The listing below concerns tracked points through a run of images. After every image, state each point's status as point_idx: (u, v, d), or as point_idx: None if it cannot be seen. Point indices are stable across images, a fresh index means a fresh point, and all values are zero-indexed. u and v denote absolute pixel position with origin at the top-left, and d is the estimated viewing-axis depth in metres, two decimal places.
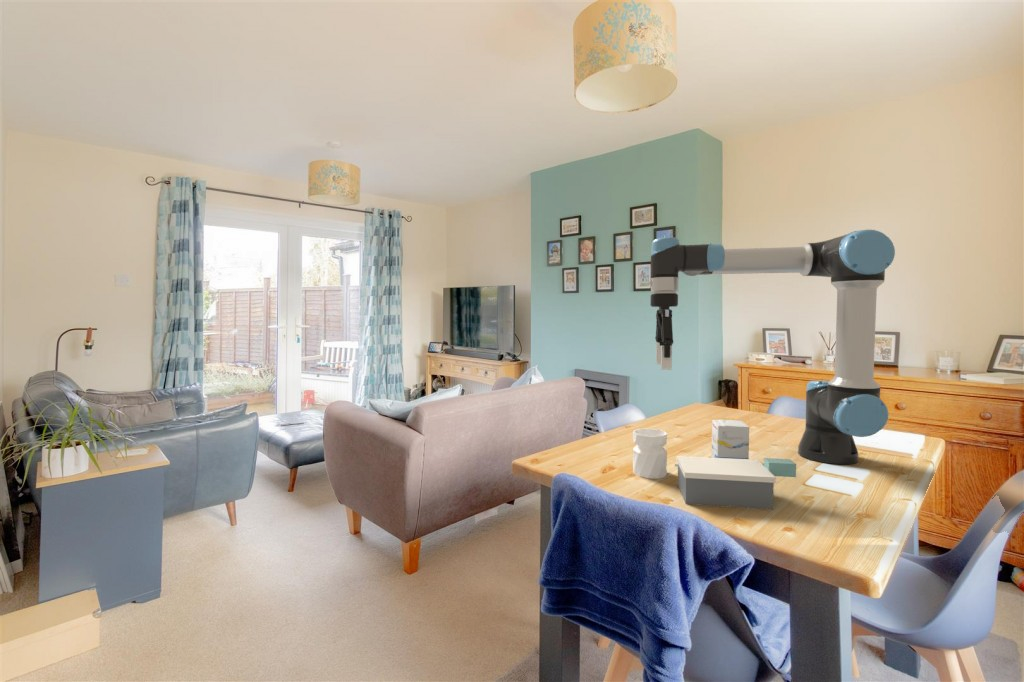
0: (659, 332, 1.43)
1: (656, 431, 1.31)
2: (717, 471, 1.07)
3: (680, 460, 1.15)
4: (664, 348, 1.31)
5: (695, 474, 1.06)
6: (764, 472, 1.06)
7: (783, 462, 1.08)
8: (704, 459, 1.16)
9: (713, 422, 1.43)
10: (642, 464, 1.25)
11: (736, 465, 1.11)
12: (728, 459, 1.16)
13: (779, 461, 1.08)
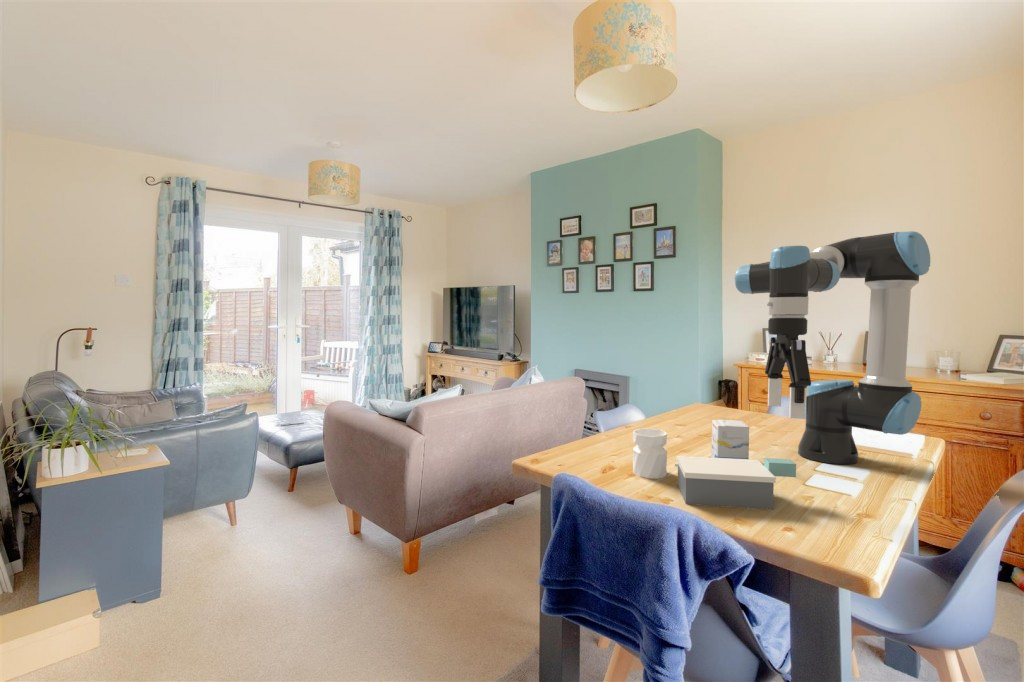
0: (775, 366, 1.12)
1: (656, 431, 1.31)
2: (717, 471, 1.07)
3: (680, 460, 1.15)
4: (795, 391, 1.00)
5: (695, 474, 1.06)
6: (764, 472, 1.06)
7: (783, 462, 1.08)
8: (704, 459, 1.16)
9: (713, 422, 1.43)
10: (642, 464, 1.25)
11: (736, 465, 1.11)
12: (728, 459, 1.16)
13: (779, 461, 1.08)
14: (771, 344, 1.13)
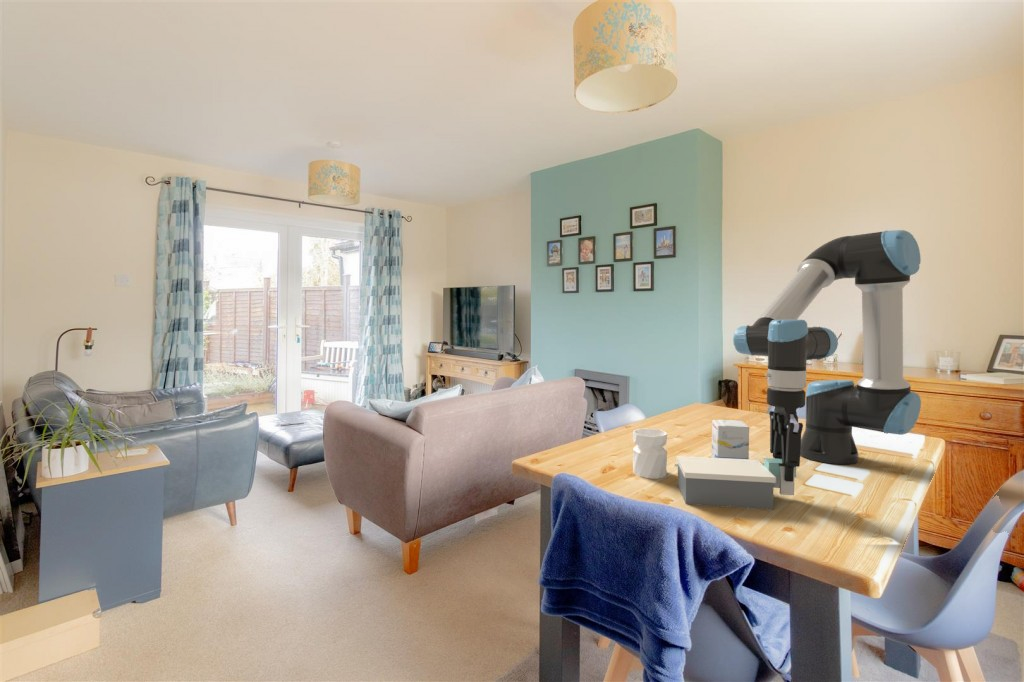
0: (778, 441, 1.10)
1: (656, 431, 1.31)
2: (717, 471, 1.07)
3: (680, 460, 1.15)
4: (785, 469, 1.06)
5: (695, 474, 1.06)
6: (764, 472, 1.06)
7: None
8: (704, 459, 1.16)
9: (713, 422, 1.43)
10: (642, 464, 1.25)
11: (736, 465, 1.11)
12: (728, 459, 1.16)
13: (779, 461, 1.08)
14: (771, 418, 1.14)
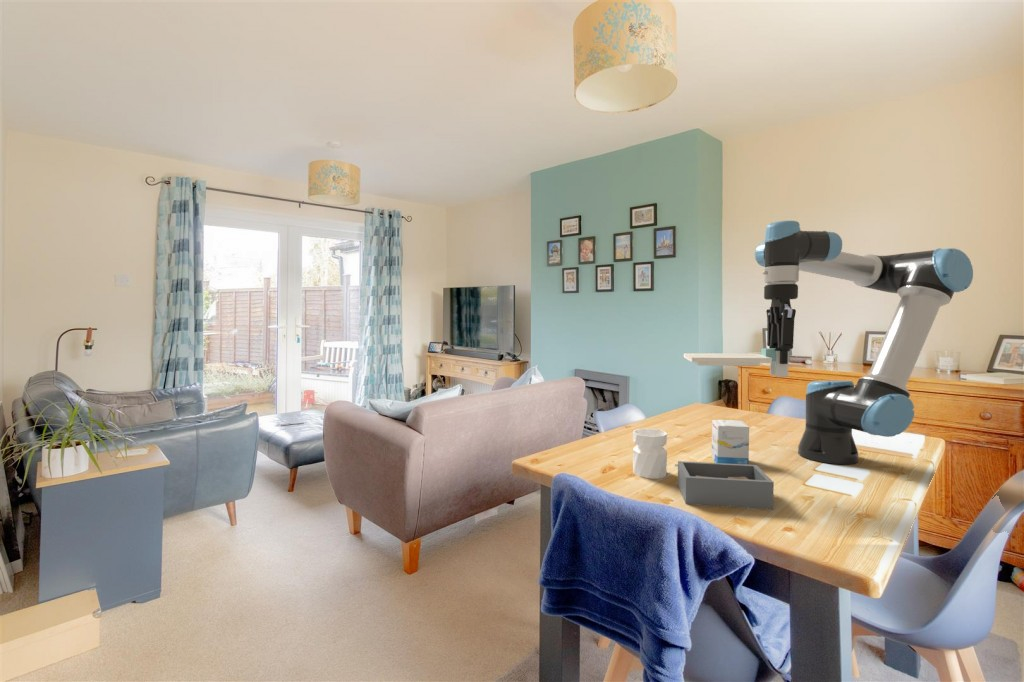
0: (774, 333, 1.25)
1: (656, 431, 1.31)
2: None
3: (687, 354, 1.30)
4: (780, 353, 1.20)
5: (701, 358, 1.21)
6: None
7: None
8: None
9: (713, 422, 1.43)
10: (642, 464, 1.25)
11: (737, 355, 1.26)
12: None
13: None
14: (767, 315, 1.28)
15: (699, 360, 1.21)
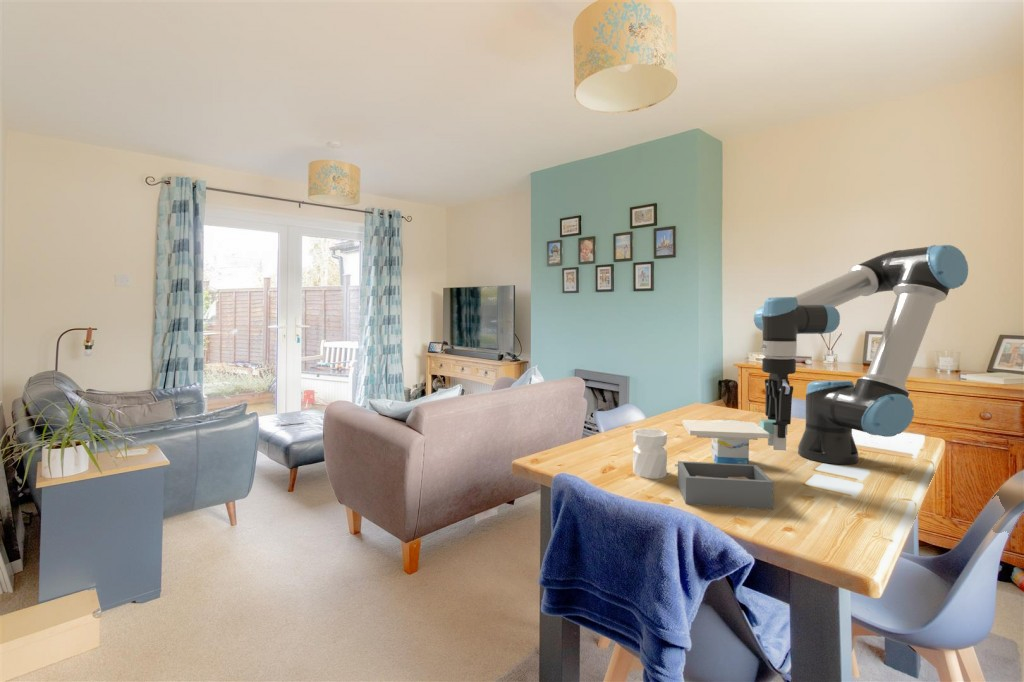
0: (772, 404, 1.26)
1: (656, 431, 1.31)
2: (719, 430, 1.23)
3: (686, 422, 1.31)
4: (778, 428, 1.21)
5: (699, 431, 1.22)
6: (759, 430, 1.22)
7: None
8: (707, 421, 1.32)
9: None
10: (642, 464, 1.25)
11: (735, 425, 1.27)
12: (728, 422, 1.31)
13: (772, 421, 1.24)
14: (766, 385, 1.29)
15: (697, 433, 1.22)
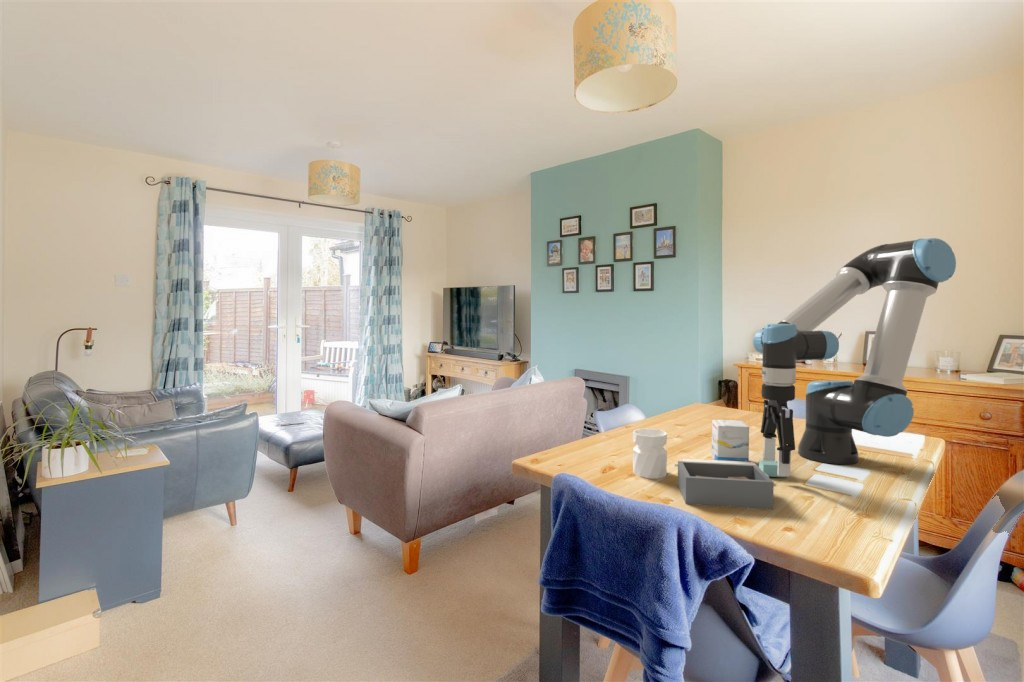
0: (769, 426, 1.28)
1: (656, 431, 1.31)
2: None
3: None
4: (782, 453, 1.18)
5: None
6: None
7: (776, 464, 1.24)
8: (707, 461, 1.32)
9: (713, 422, 1.43)
10: (642, 464, 1.25)
11: None
12: (728, 462, 1.32)
13: (772, 463, 1.24)
14: (764, 406, 1.30)
15: None
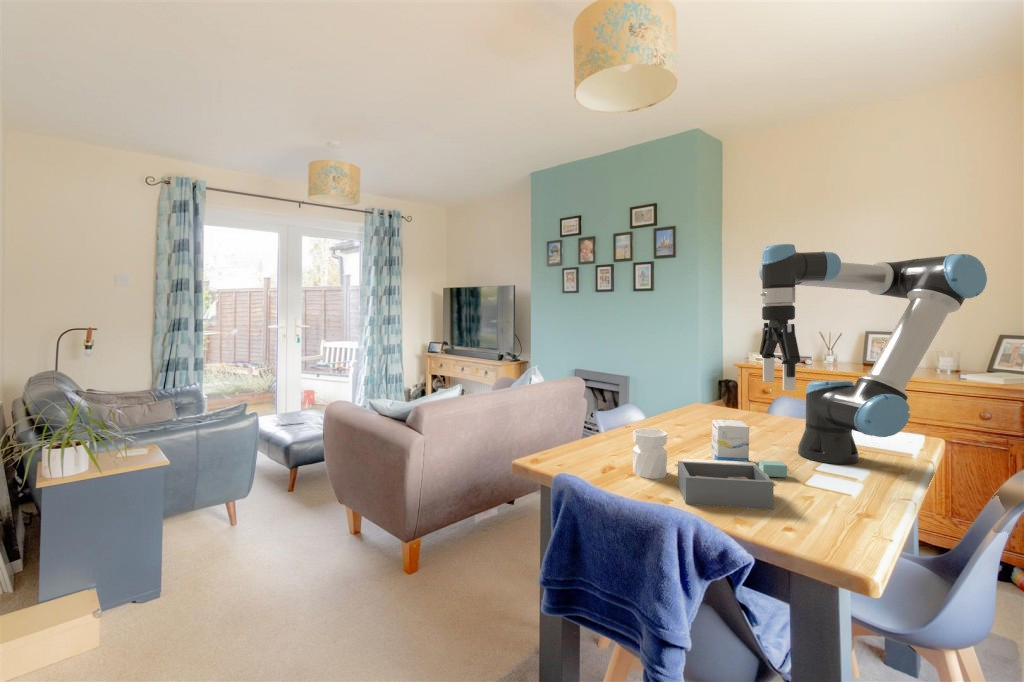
0: (768, 347, 1.31)
1: (656, 431, 1.31)
2: None
3: None
4: (787, 367, 1.19)
5: None
6: None
7: (776, 464, 1.24)
8: (707, 461, 1.32)
9: (713, 422, 1.43)
10: (642, 464, 1.25)
11: None
12: (728, 462, 1.32)
13: (772, 463, 1.24)
14: (764, 329, 1.32)
15: None
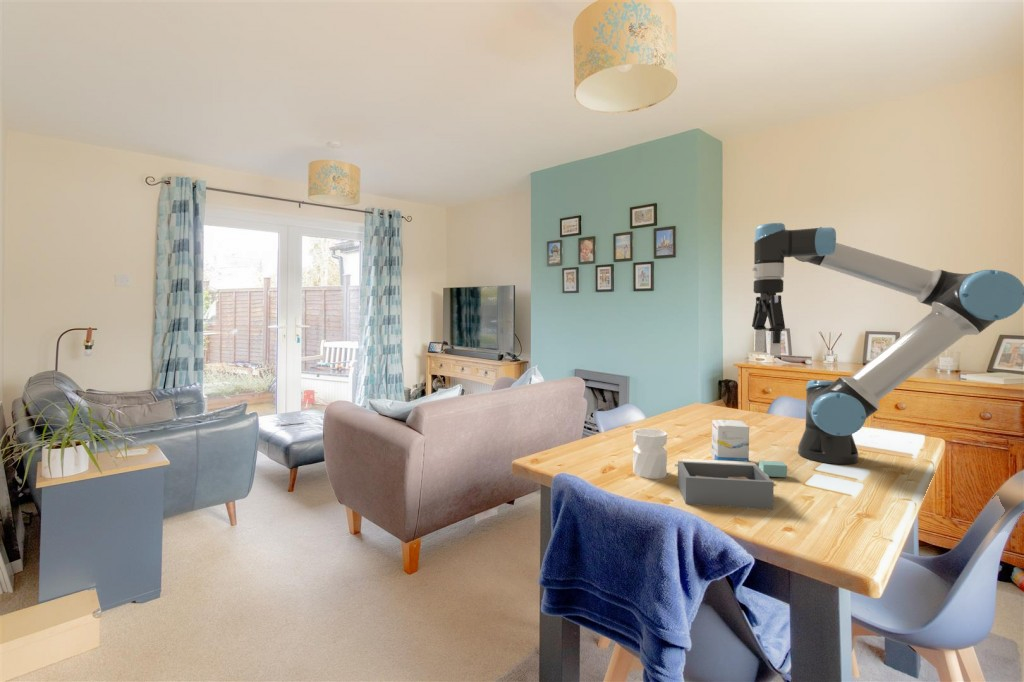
0: (759, 319, 1.43)
1: (656, 431, 1.31)
2: None
3: None
4: (774, 334, 1.31)
5: None
6: None
7: (776, 464, 1.24)
8: (707, 461, 1.32)
9: (713, 422, 1.43)
10: (642, 464, 1.25)
11: None
12: (728, 462, 1.32)
13: (772, 463, 1.24)
14: (756, 302, 1.44)
15: None
